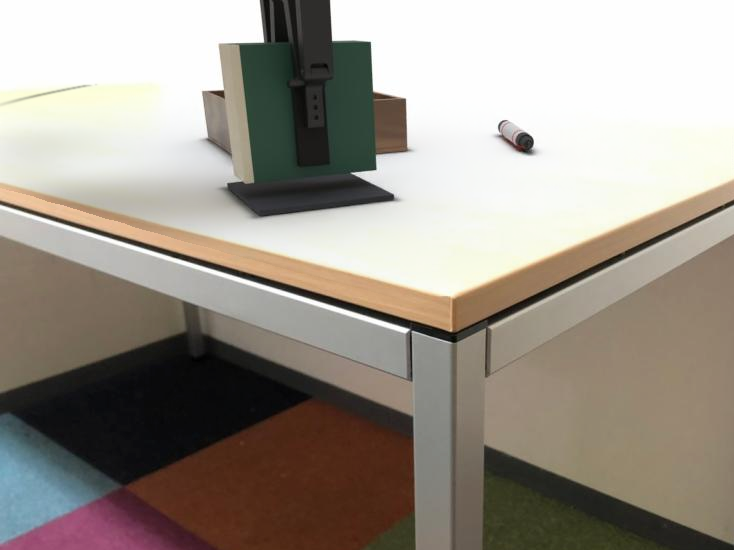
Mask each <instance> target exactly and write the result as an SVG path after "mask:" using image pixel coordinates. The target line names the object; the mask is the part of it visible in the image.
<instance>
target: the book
mask: <svg viewBox="0 0 734 550" xmlns="http://www.w3.org/2000/svg"><path fill="white" fill-rule="evenodd" d="M332 45H333V64H334V78H333V80H327V85H326V86H324V87H325V99H326V113H327V127H328V142H329V156H330V165H320V166H309V167H299V166H298V163H297V152H296V140H295V129H294V117H293V106H292V94H291V88H288V87H287V85H286V81H288V80H290V79H294V73H293V66H292V59H291V52H290V45H289V42H264V41H263V42H228V43H227V42H226V43H225V42H224V43H218V52H219V62H220V68H221V76H222V87H223V90H224V94H225V103H226V111H227V119H228V127H229V136H230V144H231V152H232V155H231V159H232V167H233V175H234V176H235V177H236V178H237V179H239V181H240V182H241V181H242V182H244V183H245V184H249V183H258V182H268V181H277V180H287V179H297V178H306V177H316V176H326V175H335V174H345V173H351V174H354V173H365V172H374V171H377V169H378V168H377V154H376V144H375V121H374V99H373V91H374V79H373V77H374V76H373V55H372V42H371V41H366V40H353V39H351V40H350V39H349V40H332Z"/></svg>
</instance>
